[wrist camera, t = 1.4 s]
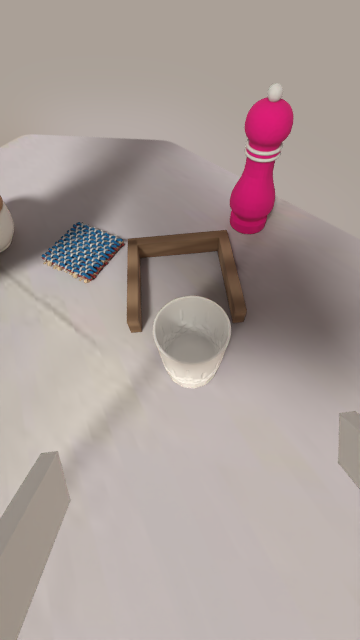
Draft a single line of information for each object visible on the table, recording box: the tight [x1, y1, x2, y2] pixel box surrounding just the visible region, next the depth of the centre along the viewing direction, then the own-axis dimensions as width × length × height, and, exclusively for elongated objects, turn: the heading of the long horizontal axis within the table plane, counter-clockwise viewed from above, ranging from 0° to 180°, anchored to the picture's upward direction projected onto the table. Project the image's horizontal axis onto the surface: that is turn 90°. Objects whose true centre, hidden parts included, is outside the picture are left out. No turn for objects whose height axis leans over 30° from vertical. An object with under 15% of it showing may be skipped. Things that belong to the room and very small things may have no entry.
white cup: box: [153, 296, 231, 389], centre depth 32 cm, size 8×8×10 cm
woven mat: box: [42, 222, 124, 283], centre depth 47 cm, size 10×11×2 cm
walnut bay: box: [127, 230, 247, 333], centre depth 42 cm, size 16×16×3 cm
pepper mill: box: [230, 84, 293, 234], centre depth 41 cm, size 7×7×20 cm
